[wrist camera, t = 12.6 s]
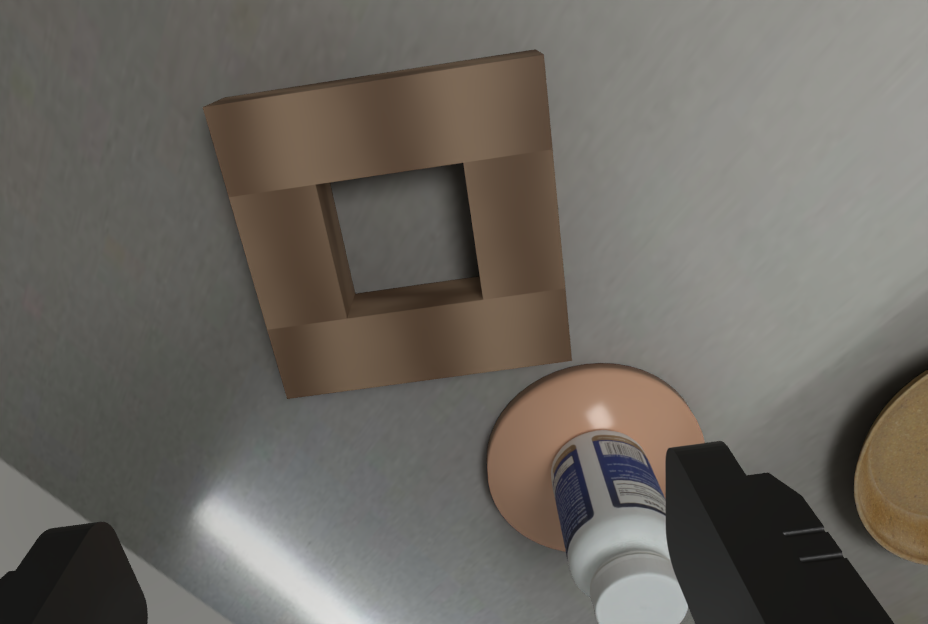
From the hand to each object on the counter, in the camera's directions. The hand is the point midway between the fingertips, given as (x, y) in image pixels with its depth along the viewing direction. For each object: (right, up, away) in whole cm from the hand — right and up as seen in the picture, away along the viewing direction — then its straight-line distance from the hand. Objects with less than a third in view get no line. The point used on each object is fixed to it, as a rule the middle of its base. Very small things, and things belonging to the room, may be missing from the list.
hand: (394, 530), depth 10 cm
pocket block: (-2, +7, +24) cm, 25 cm away
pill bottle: (+8, -5, +28) cm, 30 cm away
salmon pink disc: (+8, -5, +29) cm, 31 cm away
